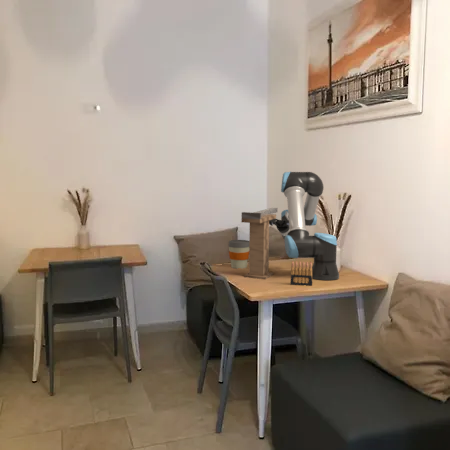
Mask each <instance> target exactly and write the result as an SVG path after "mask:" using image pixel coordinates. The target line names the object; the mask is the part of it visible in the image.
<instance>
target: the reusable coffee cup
mask: <svg viewBox="0 0 450 450" xmlns="http://www.w3.org/2000/svg"><path fill="white" fill-rule="evenodd" d="M228 256H229V259H230V265H231V266H230V267H231V268H232V269H238V268H241V269H246V268H247V267H248V262H249V261H248V260H249V240H246V239H232V240H231V239H230V240H229V241H228Z"/></svg>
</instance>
